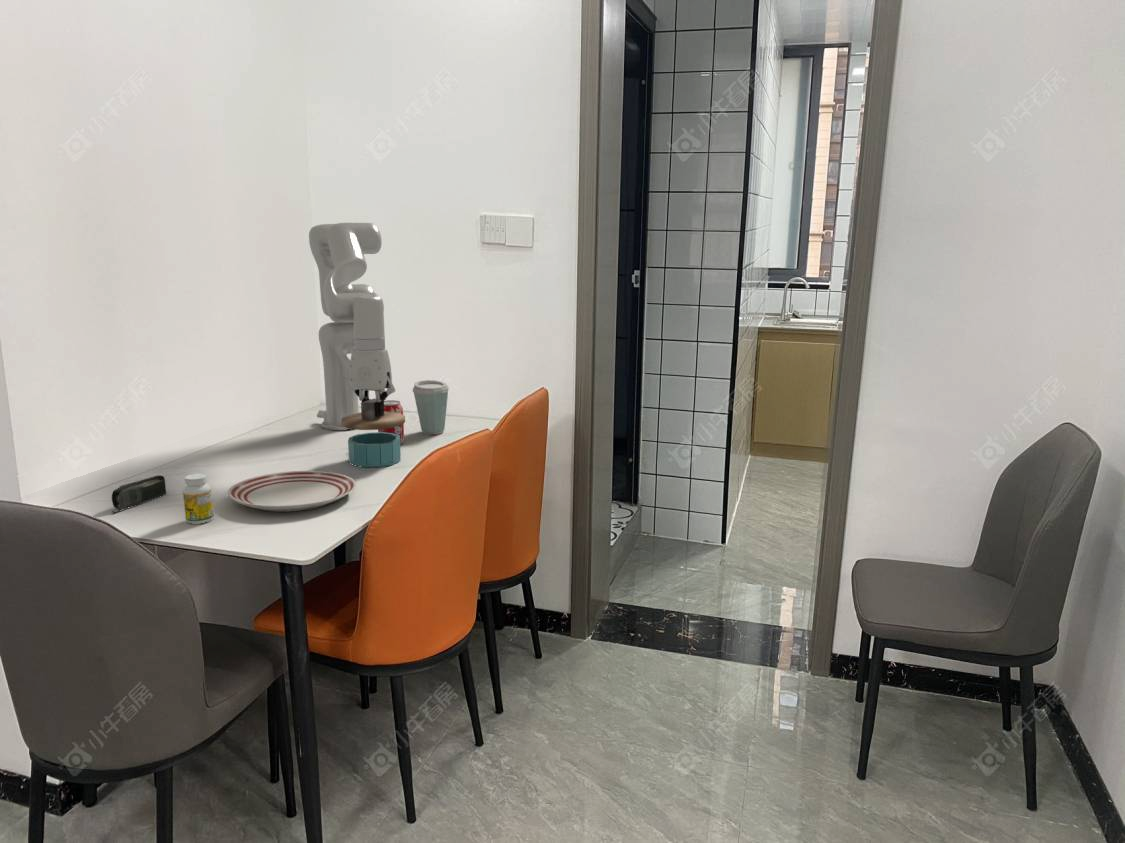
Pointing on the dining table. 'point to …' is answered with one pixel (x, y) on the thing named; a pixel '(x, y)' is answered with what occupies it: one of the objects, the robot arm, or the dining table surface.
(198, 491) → the supplement bottle
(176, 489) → the dining table surface
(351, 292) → the robot arm
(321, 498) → the dinner plate
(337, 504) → the dining table surface
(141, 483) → the black long rounded block
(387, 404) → the soda can
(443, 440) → the dining table surface
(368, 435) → the bowl
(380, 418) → the lid
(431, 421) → the disposable coffee cup
